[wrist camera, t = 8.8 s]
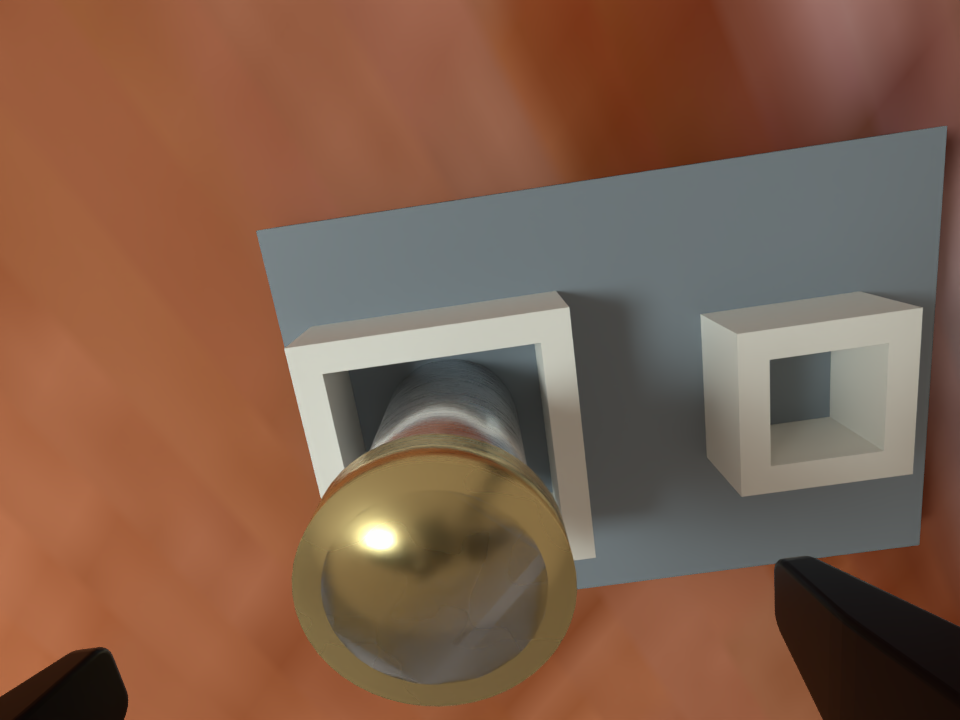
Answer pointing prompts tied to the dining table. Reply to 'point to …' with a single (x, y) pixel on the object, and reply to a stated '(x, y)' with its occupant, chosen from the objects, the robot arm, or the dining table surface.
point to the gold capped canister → (438, 550)
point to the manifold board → (656, 345)
